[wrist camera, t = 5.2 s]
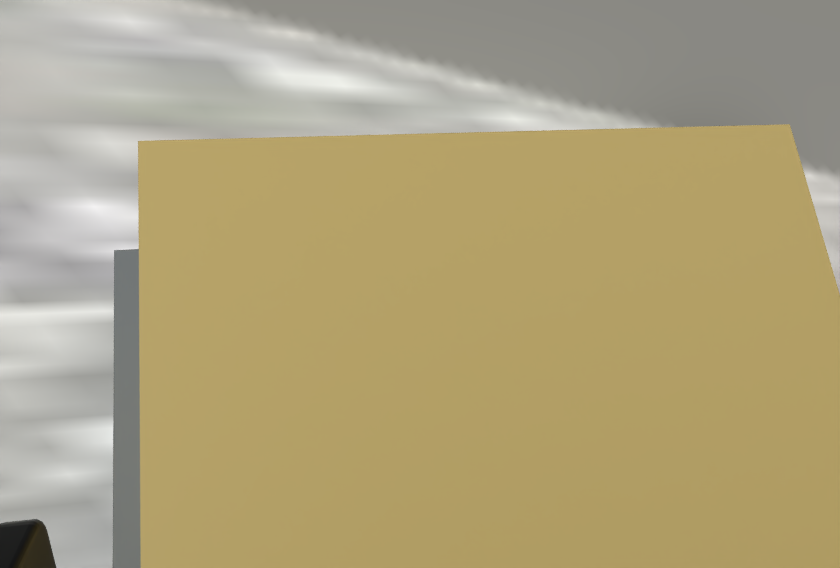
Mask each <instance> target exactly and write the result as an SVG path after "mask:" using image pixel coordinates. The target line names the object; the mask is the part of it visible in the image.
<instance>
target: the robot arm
mask: <svg viewBox="0 0 840 568" xmlns="http://www.w3.org/2000/svg"><path fill="white" fill-rule="evenodd" d="M0 568H56V565H55V561H54V557H53V553H52V549H51V545H50V541H49V537H48V533H47V529H46V527H45V525H44V524H43V522H42V521H40V520H37V519H32V520H22V521H13V522H5V523H1V524H0Z"/></svg>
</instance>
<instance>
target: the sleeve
mask: <svg viewBox="0 0 840 568" xmlns="http://www.w3.org/2000/svg"><path fill="white" fill-rule="evenodd" d="M113 568H141V544H140V367H139V249H134V250H114V431H113Z"/></svg>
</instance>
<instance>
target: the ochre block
mask: <svg viewBox="0 0 840 568" xmlns="http://www.w3.org/2000/svg"><path fill="white" fill-rule="evenodd" d="M138 191H139V367H140V544H141V568H840V294H839V291H838V287H837V284H836V280H835V277H834V274H833V270H832V267H831V263H830V260H829V257H828V253H827V250H826V246H825V243H824V240H823V236H822V233H821V229H820V226H819V223H818V219H817V216H816V212H815V209H814V206H813V202H812V199H811V195H810V192H809V189H808V185H807V182H806V178H805V175H804V172H803V168H802V165H801V161H800V158H799V155H798V151H797V148H796V144H795V141H794V138H793V134H792V131H791V127H790V125H753V126H752V125H749V126H713V127H712V126H709V127H670V128H631V129H591V130H552V131H513V132H474V133H434V134H395V135H356V136H317V137H277V138H238V139H199V140H160V141H138Z"/></svg>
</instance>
